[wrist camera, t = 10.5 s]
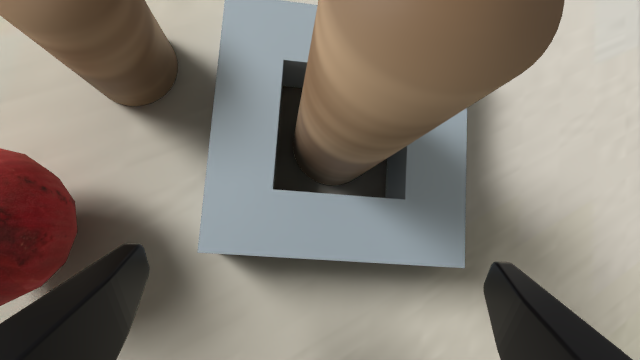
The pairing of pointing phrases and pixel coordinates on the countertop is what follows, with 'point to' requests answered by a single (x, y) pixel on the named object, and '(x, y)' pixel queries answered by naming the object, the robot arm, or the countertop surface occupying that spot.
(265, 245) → the collar block
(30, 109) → the countertop surface
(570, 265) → the countertop surface
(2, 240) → the onion
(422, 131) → the walnut peg long
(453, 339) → the countertop surface
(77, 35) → the walnut peg short
